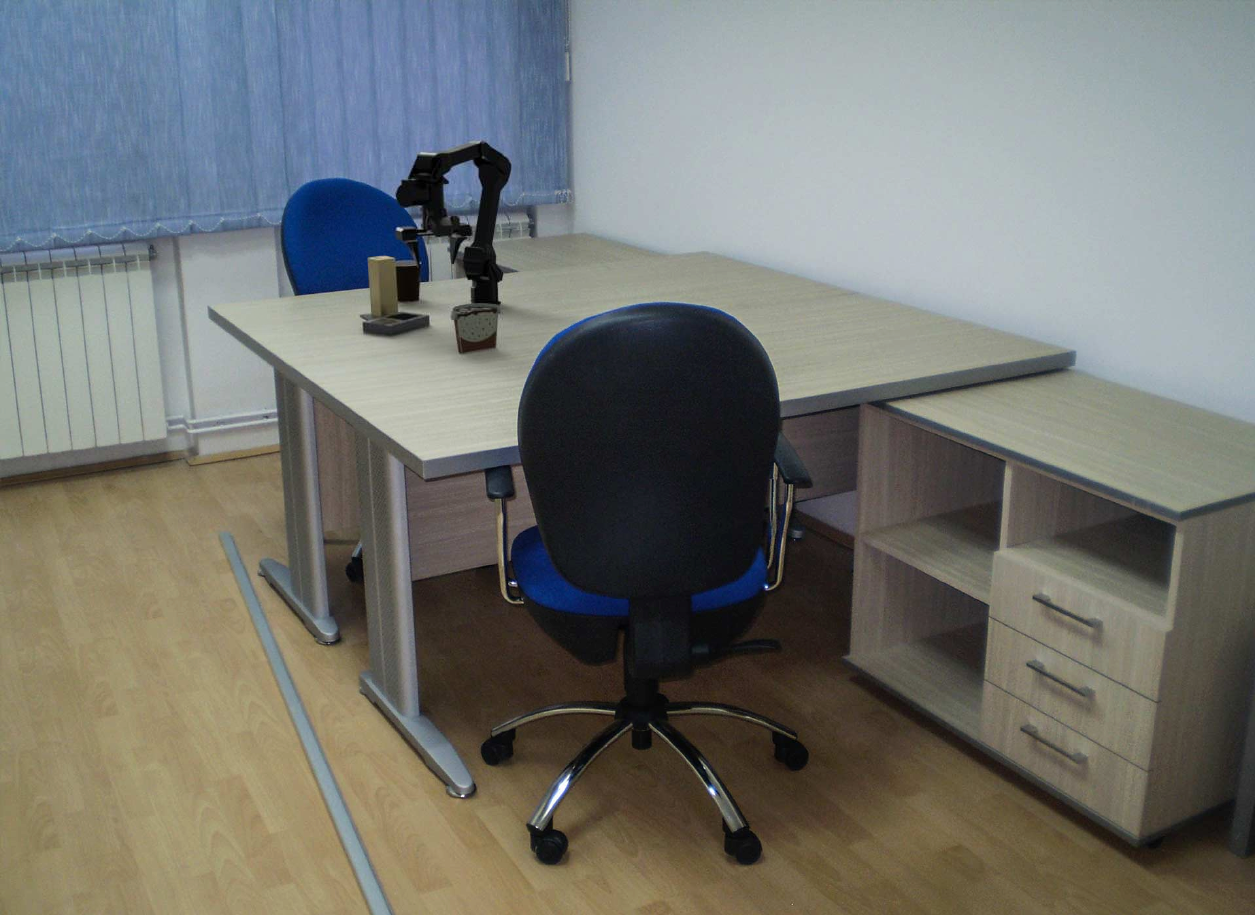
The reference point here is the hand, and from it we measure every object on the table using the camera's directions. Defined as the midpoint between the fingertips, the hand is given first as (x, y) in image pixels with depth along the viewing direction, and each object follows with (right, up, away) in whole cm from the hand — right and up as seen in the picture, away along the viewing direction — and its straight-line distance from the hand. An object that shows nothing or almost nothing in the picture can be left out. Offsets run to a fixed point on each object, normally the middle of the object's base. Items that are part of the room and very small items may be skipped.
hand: (435, 265), depth 324 cm
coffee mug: (-11, -5, +25) cm, 28 cm away
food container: (+13, -24, -30) cm, 41 cm away
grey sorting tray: (-8, -17, -10) cm, 21 cm away
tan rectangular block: (-13, -13, +1) cm, 18 cm away
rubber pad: (-13, -13, +2) cm, 19 cm away
